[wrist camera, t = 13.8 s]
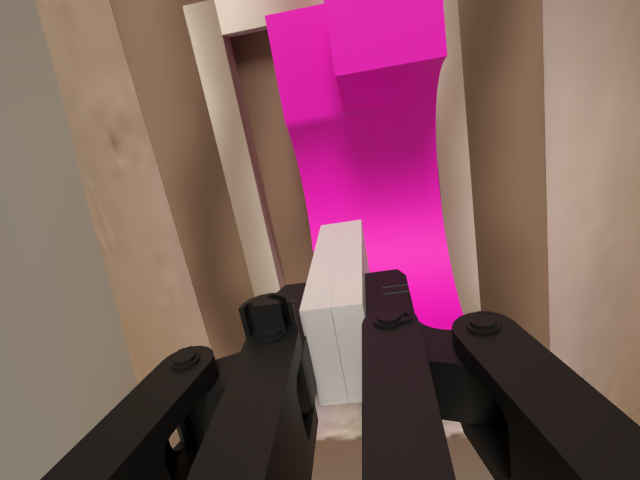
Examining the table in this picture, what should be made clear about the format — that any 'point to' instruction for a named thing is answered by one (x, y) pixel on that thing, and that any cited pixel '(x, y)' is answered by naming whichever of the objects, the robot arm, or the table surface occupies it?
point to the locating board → (282, 168)
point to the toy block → (371, 132)
